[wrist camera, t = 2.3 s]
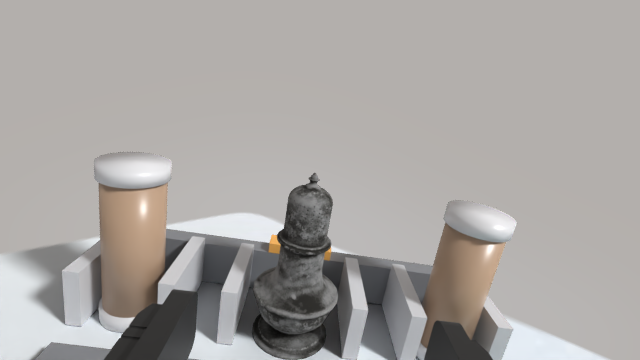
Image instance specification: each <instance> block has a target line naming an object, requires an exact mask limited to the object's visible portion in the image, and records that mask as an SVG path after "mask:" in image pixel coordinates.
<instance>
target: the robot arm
mask: <svg viewBox="0 0 640 360" xmlns="http://www.w3.org/2000/svg"><path fill="white" fill-rule="evenodd" d="M196 315H197V292H194V291H185V290H177V289H173V290H172V291H171V292H170V294H169V295H168V297H167V298H166V300H165V301H164V303H163V304H155V303H152V304H151V305H149V306H148V307H146V308H145V309H143V310H142V311H140V312H139V313H138V314H137V315H136V317H135V318H134V319H133V321H132V322H131V323H130V325H129V327H128V328H127V329H126V330H125V331H124V333H123V334H122V335H121V338H119V340H118V341H117V342H116V344H115V345H114V346H113V348H112V349H111V350H110V352H109V353H108V354H107V356H106V357H105V358H104V360H187V359H188V356H189V354H190V352H191V349H192V346H193V343H194V338H195V332H196ZM424 360H493V359H492V357H491V356H490V354H489V353H488V352H487V351H486V350H485V349H484V348H483V347H482V346H481V345H480V344H479V343H478V342H476V341H474V340H470V339H469V337H468V335H467V333H466V332H465V330H464V328H463V327H462V325H461V324H460V323H456V322H447V321H439V320H437V321H435V323H434V325H433V328H432V332H431V336H430V339H429V343H428V346H427V350H426V354H425V358H424Z"/></svg>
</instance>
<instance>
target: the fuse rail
mask: <svg viewBox="0 0 640 360" xmlns="http://www.w3.org/2000/svg"><path fill="white" fill-rule="evenodd" d="M280 245H281V244H280V243H279V242H278V240H277V235H272V236H271V240H270V243H264V242H257V241H250V240H243V239H235V238H228V237H221V236H214V235H207V234H199V233H192V232H185V231H178V230H170V229H166V248H165V275H164V276H163V277H162V279H161V280H160V281H159V283H158V304H163V303H164V301H165V300H166V298H167V297H168V295H169V294H170V292H171V291H172V290H173V289H177V290H185V291H194V292H197V290H198V288H199V286H200V284H201V282H202V281H206V282H213V283H221V284H224V286H223V289H222V291H221V300H220V311H219V322H218V333H217V343H220V344H229V345H232V343H233V339H234V336H235V333H236V329H237V326H238V323H239V320H240V316H241V313H242V310H243V306H244V303H245V300H246V297H247V293H248V290H249V287H251V288H253V287H254V282H255V280H256V279H257V277H258V276H259V275H260V274H262V273H263V272H264V271H266V270H268V269H271V268H274V267H276V266H277V264H278V260H279V252H280ZM432 268H433V266H430V265H423V264H416V263H408V262H402V261H394V260H387V259H380V258H373V257H365V256H358V255H351V254H344V253H337V252H331V247H330V249H329V250H328V251H326V252H325V256H324V261H323V266H322V274H323V275H324V276H326V277H327V278H328V279H329V280H331V281H332V283H333V284H334V286H335V287H336V289H337V292H338V300H337V307H338V319H339V330H340V341H341V352H342V358H344V359H352V360H357V356H358V352H359V348H360V344H361V339H362V335H363V331H364V327H365V323H366V318H367V314H368V306H367V303H374V304H381V305H382V307H383V311H384V314H385V318H386V321H387V325H388V329H389V332H390V336H391V340H392V343H393V347H394V350H395V354H396V358H397V360H415V358H416V355H417V351H418V348H419V345H420V341H421V338H422V335H423V331H424V328H425V325H426V321H427V316H426V314H425V312H424V309H423V307H422V302H423V299H424V295H425V292H426V288H427V285H428V281H429V278H430V275H431V271H432ZM62 280H63V296H64V312H65V325H72V326H80V327H81V326H82V325H83V324H84V323H85V322H86V321H87V320H88V319H89V317H90V316H91V315H92V314H93V313H94V312H95V311H96V310H97V309H98V308H99V301H100V299H101V298H102V284H101V249H100V241H98V242H97V243H96V244H95V245H93V246H92V247H91V248H90V249H88V250H87V251H86V252H85V253H83V254H82V255H81V256H80V257H78V258H77V259H76V260H75V261H73V262H72V263H71V264H70V265H68V266H67V267H66V268H65V269H63V270H62ZM512 331H513V328H512V327H511V326H510V324H509V323H508V322H507V320H506V319H505V318H504V316H503V315H502V314H501V312H500V311H499V310H498V308H497V307H496V306H495V304H494V303H493V302H492V301H491V299H490V298H489V297H488V295H487V298H486V301H485V304H484V307H483V310H482V312H481V315H480V318H479V321H478V324H477V327H476V330H475V332H474V335H473V338H472V340H474V341H476V342H478V343H479V344H480V345H481V346H482V347H483V348H484V349H485V350H486V351H487V352H488V353H489V354H490V356H491V357H492V359H493V360H501V359H502V357H503V354H504V352H505V349H506V346H507V344H508V341H509V339H510V336H511V334H512ZM110 350H111V349H104V348H95V347H87V346H78V345H70V344H62V343H53V342H51V343H50V344H49V345H48V346H47V347H46V348H45V349H44V350H43V351H42V352H41V354H40V355H39V356H38V357H37V358H36V359H35V360H104V358H105V357H106V356H107V354H108V353H109V352H110ZM187 360H197V359H187Z"/></svg>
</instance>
